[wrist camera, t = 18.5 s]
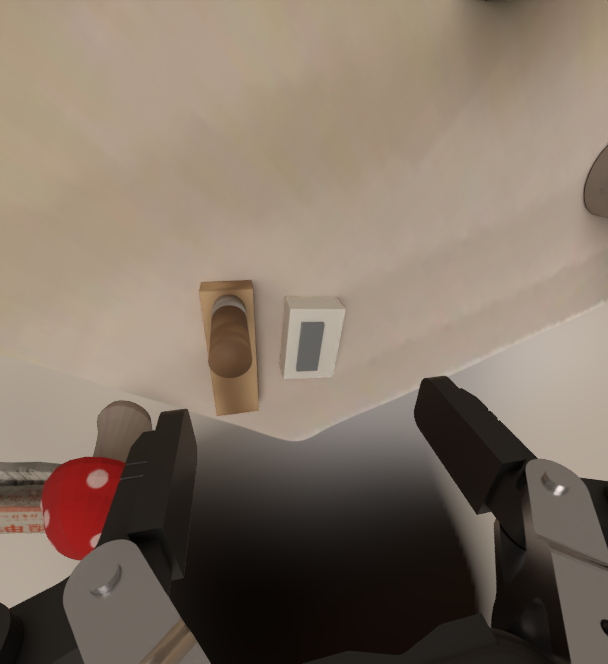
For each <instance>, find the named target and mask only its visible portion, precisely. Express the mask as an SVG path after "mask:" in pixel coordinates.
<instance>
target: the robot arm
mask: <svg viewBox="0 0 608 664" xmlns="http://www.w3.org/2000/svg"><path fill="white" fill-rule="evenodd" d="M585 203H586V206H587V208H588V210H589V211H590V212H591V213H593V214H595V215H598V216H604V217H608V146H607V147H606V149H605V150H604V151H603V152H602V153H601V155H600V156H599V158H598V159H597V161H596V162H595V164H594V166H593V168H592V170H591V172H590V174H589V177H588V180H587V183H586V188H585ZM414 418H415V421H416V424H417V426H418V428H419V429H420V431H421V432H422V434H423V435H424V437H425V438H426V440H427V441H428V443H429V444H430V446H431V447H432V449H433V450H434V452H435V453H436V455H437V456H438V458H439V459H440V461H441V462H442V464H443V465H444V466H445V468H446V470H447V471H448V473H449V474H450V476H451V477H452V478H453V480H454V481H455V483H456V484H457V486H458V487H459V489H460V490H461V492H462V493H463V495H464V496H465V498H466V499H467V501H468V502H469V504H470V505H471V507H472V508H473V510H474V511H475V513H476V514H477V515H478V514H483V513H487V512H492V513H493V514H494V516H495V517H496V520H495V522H494V540H495V541H494V543H495V565H496V597H495V602H494V606H493V611H492V616H491V628H490V627H489V626H488V625H487V623H486V621H485V619H484V617H483V615H482V613H480V614H477V615H473V616H469V617H466V618H463V619H459V620H455V621H452V622H449V623H445V624H441V625H440V626H438V627H437V628H436V629H434V630H433V631H432V632H431V633H429V634H428V635H427V636H426V637H424V638H423V639H422V640H421V641H420V642H418V643H417V644H416V645H414V646H413V647H412V648H411V649H409V650H408V651H407V652H406V653H404V654H402V655H387V654H377V653H366V652H355V651H346V652H343V653H339V654H335V655H332V656H328V657H325V658H321V659H318V660H314V661H311V662H307V663H304V664H608V481H602V480H593V479H586V478H579V477H578V476H577V475H576V474H574V473H573V472H572V471H571V470H569V469H567V468H566V467H564V466H562V465H560V464H558V463H556V462H553V461H550V460H546V459H538V458H537V457H536V456H535V455H534V454H533V453H532V452H531V451H530V450H529V449H528V448H527V447H526V446H525V445H524V444H523V443H522V442H521V441H520V440H519V439H518V438H517V437H516V436H515V435H514V434H513V433H512V432H511V431H510V430H509V429H508V428H507V427H506V426H505V425H504V424H503V423H502V422H501V421H498V420H497V417H496V416H495V415H494V414H493V413H492V412H491V411H488V408H487V407H486V406H485V405H484V404H483V403H482V402H481V401H480V400H479V399H478V398H477V397H475V396H474V395H472V394H471V393H469V392H467V391H466V390H464V389H462V388H461V389H459V388H458V387H457V386H456V385H455V384H454V383H453V382H452V381H451V380H450V379H449V378H448V377H447V376H439V377H431V378H424V379H423V380H422V381H421V385H420V389H419V393H418V397H417V401H416V405H415V409H414ZM196 466H197V445H196V440H195V435H194V432H193V428H192V423H191V420H190V416H189V412H188V410H187V409H180V410H173V411H165V412H161V414H160V416H159V419H158V423H157V426H156V430H155V431H147V432H143V433H142V434H141V435H140V436H139V438H138V439H137V440H136V441H135V443H134V444H133V445H132V446H131V448H130V451H129V454H128V457H127V459H126V462H125V467H124V468H123V471H122V474H121V477H120V482H119V483H118V486H117V489H116V492H115V494H114V497H113V500H112V503H111V506H110V509H109V512H108V515H107V518H106V521H105V524H104V527H103V529H102V532H101V535H100V538H99V540H98V543H97V545H96V547H95V548H94V550H93V551H91V552H90V553H89V554H88V555H87V556H85V557H84V558H83V559H82V560H81V562H80V563H79V564H78V565H77V567H76V568H75V569H74V571H73V572H72V574H71V575H70V576H69V577H67V578H66V579H65V580H63V581H62V582H60V583H58V584H56V585H55V586H53V587H51V588H49V589H47V590H45V591H43V592H41V593H39V594H37V595H36V596H33V597H31V598H30V599H27V600H25V601H24V602H22V603H20V604H18V605H16V606H14V607H12V608H10V609H8V608H7V607H6V606H5V605H3V604H2V603H0V664H210V662H209V660H208V659H207V657H206V656H205V654H204V652H203V650H202V649H201V647H200V646H199V644H198V642H197V641H196V639H195V638H194V636H193V634H192V633H191V631H190V630H189V629H188V627H187V626H186V625H185V624H184V622H183V621H182V619H181V617H180V616H179V614H178V612H177V611H176V609H175V607H174V606H173V604H172V602H171V601H170V599H169V591H170V584H171V580H176V579H180V578H183V577H184V571H185V562H186V553H187V545H188V536H189V526H190V518H191V509H192V501H193V491H194V483H195V474H196Z"/></svg>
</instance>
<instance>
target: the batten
mask: <svg viewBox="0 0 608 664" xmlns="http://www.w3.org/2000/svg"><path fill="white" fill-rule="evenodd" d="M199 294H200V301H201V308H202V315H203V322H204V329H205V336H206V343H207V350H208V357H209V346H210V333H211V320H212V308H213V304H214V302H215V300H216V299H217V298H219V297H220V296H223V295H228V294H229V295H235V296H237V297H239V298H240V299H241V300H242V301H243V302H244V304H245V308H246V315H247V323H248V330H249V337H250V345H251V352H252V365H251V367H250V369H249V370H248V371H247V372H246V373H245V374H243V375H241V376H239V377H236V378H224V377H220V376H218V375H216V374H215V373H214V372H213V371H212V370H211V369H210V371H211V379H212V386H213V393H214V400H215V407H216V414H217V416H221V415H229V414H237V413H245V412H252V411H259V405H258V385H257V365H256V344H255V324H254V303H253V288H252V283H251V280H244V281H221V282H201V285H200V290H199Z"/></svg>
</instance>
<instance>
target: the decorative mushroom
mask: <svg viewBox="0 0 608 664" xmlns="http://www.w3.org/2000/svg"><path fill="white" fill-rule="evenodd" d="M97 427H98V437H97V442H96V447H95V451H94V455H93V457H83V458H78V459H74V460H69V461H68V462H66V463H64V464H62V465H60V466H58V467H57V468H56V469H55V470H54V471H53V473H52V474H51V475H50V476H49V478H48V479H47V480H46V482H45V483H44V487H43V492H42V497H41V503H40V507H41V510H42V514H43V517H44V529H45V533H46V535H47V537H48V539H49V541H50V543H51V545H52V546H53V547H54V548H55V549H56V550H57V551H58V552H59V553H61V554H62V555H64V556H66V557H68V558H71V559H75V560H82V559H83V558H84V557H85V556H87V555H88V554H89V553H90V552H91V551H93V550H94V548H95V547H96V545H97V543H98V540H99V538H100V535H101V532H102V529H103V527H104V524H105V521H106V518H107V515H108V512H109V509H110V506H111V503H112V500H113V497H114V494H115V492H116V489H117V486H118V483H119V482H120V477H121V474H122V471H123V468H124V467H125V462H126V459H127V457H128V454H129V451H130V448H131V446H132V445H133V444H134V443H135V441H136V440H137V439H138V438H139V436H140V435H141V434H142V433H143V432H147V431H152V424H151V418H150V416H149V414H148V412H147V411H146V410H145V409H144V408H143V407H141V406H139V405H137V404H136V403H133V402H130V401H122V400H121V401H115V402H113V403H111V404H110V405H108V406H107V407H106V408H104V409H103V410H102V411H101V413H100V414H99V415H98V419H97Z"/></svg>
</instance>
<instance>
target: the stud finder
mask: <svg viewBox="0 0 608 664" xmlns="http://www.w3.org/2000/svg"><path fill="white" fill-rule="evenodd" d="M345 311H346V309H345V307H344V306H343V305H342V304H341V302H340V301H339V300H338V298H337V297H292V296H285V303H284V315H283V327H282V338H281V350H280V362H279V364H280V368H281V372H282V375H283V379H284V380H285V379H304V378H323V377H333V373H334V368H335V363H336V358H337V352H338V347H339V342H340V337H341V332H342V326H343V321H344V316H345Z"/></svg>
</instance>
